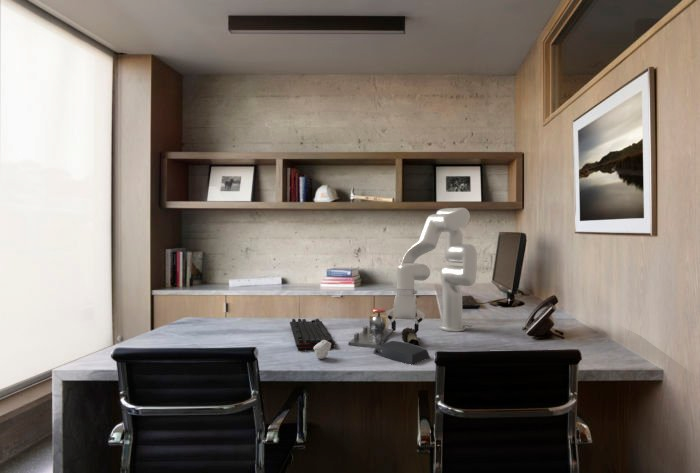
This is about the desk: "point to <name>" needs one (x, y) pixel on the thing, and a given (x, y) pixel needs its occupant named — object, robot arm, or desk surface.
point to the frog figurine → (322, 349)
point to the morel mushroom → (410, 336)
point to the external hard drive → (401, 352)
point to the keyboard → (309, 334)
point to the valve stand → (373, 331)
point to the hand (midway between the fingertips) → (404, 331)
